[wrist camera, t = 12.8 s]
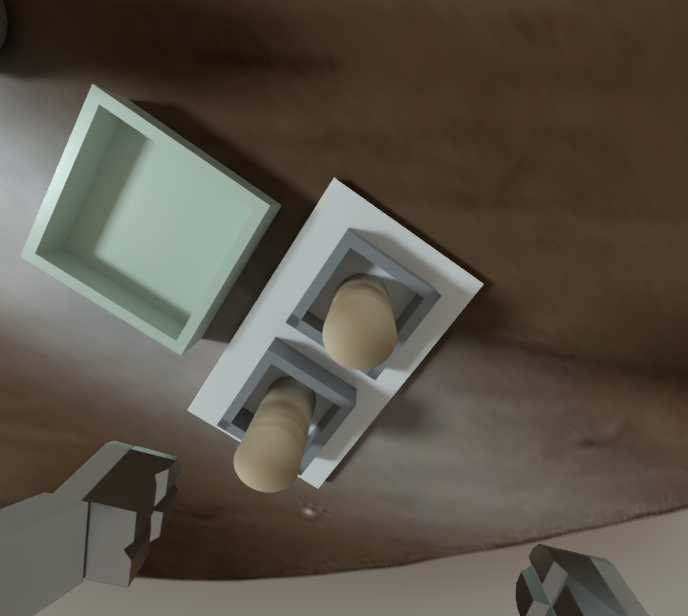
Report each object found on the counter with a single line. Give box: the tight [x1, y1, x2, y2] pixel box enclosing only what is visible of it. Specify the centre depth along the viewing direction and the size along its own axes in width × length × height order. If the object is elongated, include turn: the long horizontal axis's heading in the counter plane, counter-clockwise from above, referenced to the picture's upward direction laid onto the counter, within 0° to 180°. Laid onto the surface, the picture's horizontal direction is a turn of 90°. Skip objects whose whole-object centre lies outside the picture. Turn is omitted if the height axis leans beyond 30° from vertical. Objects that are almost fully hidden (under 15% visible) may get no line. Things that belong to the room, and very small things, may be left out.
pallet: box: [188, 178, 483, 488], centre depth 28 cm, size 22×13×4 cm, turn 146°
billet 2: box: [322, 273, 397, 370], centre depth 24 cm, size 4×4×8 cm
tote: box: [20, 84, 282, 355], centre depth 27 cm, size 13×13×4 cm
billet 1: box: [234, 376, 316, 492], centre depth 27 cm, size 4×4×8 cm
